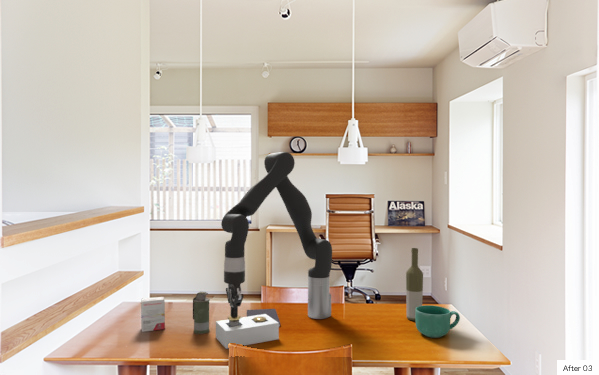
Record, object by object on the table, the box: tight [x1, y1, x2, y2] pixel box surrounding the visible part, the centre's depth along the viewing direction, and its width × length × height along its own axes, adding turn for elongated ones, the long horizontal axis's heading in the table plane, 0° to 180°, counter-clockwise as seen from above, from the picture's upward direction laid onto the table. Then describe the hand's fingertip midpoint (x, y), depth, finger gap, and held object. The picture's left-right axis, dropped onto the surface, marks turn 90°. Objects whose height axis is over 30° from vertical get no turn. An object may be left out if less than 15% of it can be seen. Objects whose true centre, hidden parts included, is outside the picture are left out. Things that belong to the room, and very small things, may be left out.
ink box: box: [140, 296, 166, 333], centre depth 166 cm, size 9×5×12 cm, turn 110°
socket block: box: [215, 314, 280, 349], centre depth 156 cm, size 20×12×6 cm, turn 118°
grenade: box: [192, 291, 210, 335], centre depth 163 cm, size 6×6×15 cm
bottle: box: [405, 247, 424, 322], centre depth 180 cm, size 7×7×30 cm
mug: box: [414, 304, 461, 339], centre depth 162 cm, size 17×13×10 cm
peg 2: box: [254, 317, 266, 323], centre depth 159 cm, size 5×5×6 cm
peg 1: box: [227, 314, 241, 327], centre depth 154 cm, size 5×5×6 cm
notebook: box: [246, 308, 281, 327], centre depth 179 cm, size 13×2×21 cm
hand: (234, 316), depth 154 cm, fingers closed
